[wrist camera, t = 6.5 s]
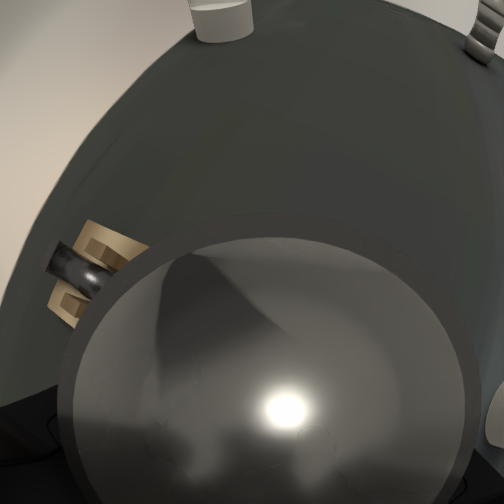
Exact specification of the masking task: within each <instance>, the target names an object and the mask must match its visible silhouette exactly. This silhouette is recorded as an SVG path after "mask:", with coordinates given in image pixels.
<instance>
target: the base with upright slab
mask: <svg viewBox="0 0 504 504" xmlns="http://www.w3.org/2000/svg"><path fill="white" fill-rule="evenodd" d="M188 3H189V7H190V11H191V15H192V19H193V23H194V27H195V31H196V35H197V38H198V40H200V41H203V42H207V43H221V42H229V41H233V40H237V39H240V38H243V37H245V36H248V35H249V34H251V33H252V32H253V30H254V27H253V18H252V8H251V0H188Z"/></svg>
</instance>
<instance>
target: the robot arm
mask: <svg viewBox="0 0 504 504" xmlns="http://www.w3.org/2000/svg"><path fill="white" fill-rule="evenodd" d="M57 391H58V384H57V385H55V386H53V387H50V388H48V389H46V390H43V391H41V392H39V393H36V394H34V395H31V396H29V397H26V398H24V399H21V400H19V401H16V402H13V403H11V404H8V405H5V406H2V407H0V504H89V503H88V502H87V500H86V499H85V497H84V495H83V494H82V492H81V490H80V489H79V487H78V485H77V483H76V481H75V479H74V477H73V475H72V472H71V470H70V468H69V465H68V463H67V460H66V456H65V453H64V449H63V446H62V442H61V438H60V431H59V424H58V417H57ZM447 504H504V478H503V477H502V476H501V475H500V474H499V473H498V472H497V471H496V470H495V469H494V468H493V467H492V466H491V465H490V464H489V463H488V462H487V461H486V460H485V459H484V458H483V457H482V456H481V455H480V454H479V453H478V451H477V450H476V449H475V448H474V449H473V452H472V455H471V458H470V461H469V464H468V466H467V468H466V471H465V473H464V475H463V477H462V479H461V481H460V483H459V485H458V487H457V488H456V490H455V492H454V493H453V495H452V496H451V498H450V499H449V501H448V502H447Z"/></svg>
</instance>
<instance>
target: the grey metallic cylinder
mask: <svg viewBox="0 0 504 504" xmlns="http://www.w3.org/2000/svg"><path fill="white" fill-rule="evenodd" d="M480 416H481V382H480V374H479V366H478V362H477V358H476V354H475V351H474V347H473V344H472V340H471V338H470V336H469V333H468V331H467V329H466V327H465V324H464V322H463V320H462V318H461V316H460V314H459V313H458V311H457V310H456V308H455V306H454V305H453V303H452V302H451V300H450V299H449V297H448V296H447V294H446V293H445V292H444V291H443V290H442V288H441V287H440V286H439V285H438V284H437V283H436V282H435V280H434V279H433V278H432V277H431V276H430V275H429V274H428V273H427V272H426V271H425V270H424V269H423V268H421V267H420V266H419V265H418V264H417V263H415V262H414V261H413V260H412V259H411V258H409V257H408V256H407V255H406V254H404V253H402V252H401V251H399V250H398V249H396V248H395V247H393V246H391V245H390V244H388V243H387V242H385V241H383V240H381V239H379V238H377V237H375V236H373V235H371V234H368V233H366V232H364V231H362V230H359V229H357V228H355V227H351V226H348V225H345V224H341V223H338V222H335V221H331V220H328V219H323V218H317V217H311V216H305V215H298V214H277V213H262V214H250V215H240V216H233V217H228V218H223V219H219V220H214V221H210V222H205V223H203V224H200V225H197V226H194V227H191V228H189V229H186V230H183V231H180V232H178V233H175V234H174V235H172V236H170V237H168V238H166V239H164V240H162V241H160V242H158V243H156V244H154V245H152V246H150V247H149V248H147V249H146V250H145V251H143V252H142V253H140V254H139V255H137V256H136V257H134V258H133V259H132V260H130V261H129V262H127V263H126V264H125V265H124V266H123V267H122V268H121V269H120V270H119V271H117V272H116V273H115V274H114V275H113V276H112V277H111V278H110V279H109V280H108V281H107V282H106V283H105V284H104V285H103V287H102V288H101V289H100V290H99V291H98V293H97V294H96V295H95V296H94V297H93V299H92V300H91V301H90V303H89V304H88V306H87V308H86V309H85V311H84V312H83V314H82V315H81V317H80V319H79V320H78V322H77V324H76V326H75V329H74V331H73V333H72V335H71V338H70V340H69V342H68V344H67V348H66V351H65V354H64V358H63V361H62V365H61V369H60V376H59V383H58V391H57V417H58V424H59V431H60V438H61V442H62V446H63V449H64V453H65V456H66V460H67V463H68V465H69V468H70V470H71V472H72V475H73V477H74V479H75V481H76V483H77V485H78V487H79V489H80V490H81V492H82V494H83V495H84V497H85V499H86V500H87V502H88V503H89V504H447V502H448V501H449V499H450V498H451V496H452V495H453V493H454V492H455V490H456V488H457V487H458V485H459V483H460V481H461V479H462V477H463V475H464V473H465V471H466V468H467V466H468V464H469V461H470V458H471V455H472V452H473V449H474V446H475V443H476V439H477V434H478V428H479V422H480Z"/></svg>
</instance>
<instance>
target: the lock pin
mask: <svg viewBox="0 0 504 504" xmlns="http://www.w3.org/2000/svg"><path fill="white" fill-rule="evenodd" d="M39 267H40V268H41V269H43V270H44V271H45V272H47V273H50V274H52V275H54V276H56V277H58V278H59V279H61V280H62V281H63V282H65V283H66V284H68V285H69V286H70V287H72V288H73V289H75V290H76V291H77V292H79V293H80V294H82V295H83V296H85V297H86V298H88V299H89V300H92V299H93V297H94V296H95V295H96V294H97V293H98V291H99V290H100V289H101V288H102V287H103V285H104V284H105V283H106V282H107V281H108V280H109V279H110V278H111V277H112V276H113V275H114V273H113V272H111V271H109V270H107V269H105V268H104V267H102V266H100V265H98V264H96V263H95V262H93V261H91V260H89V259H88V258H86V257H84V256H83V255H81V254H79V253H78V252H77V251H75V250H74V249H72V248H70V247H69V246H67V245H66V244H64V243H62V242H61V241H59V240H58V239H56V238H54V237H52V239H51V241H50V243H49V245H48V247H47V249H46V251H45V253H44V255H43V257H42V260H41V262H40V264H39Z"/></svg>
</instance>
